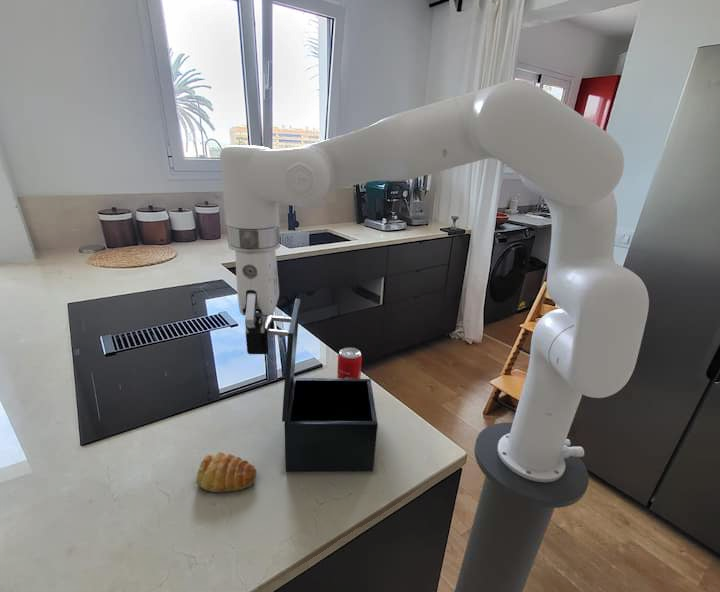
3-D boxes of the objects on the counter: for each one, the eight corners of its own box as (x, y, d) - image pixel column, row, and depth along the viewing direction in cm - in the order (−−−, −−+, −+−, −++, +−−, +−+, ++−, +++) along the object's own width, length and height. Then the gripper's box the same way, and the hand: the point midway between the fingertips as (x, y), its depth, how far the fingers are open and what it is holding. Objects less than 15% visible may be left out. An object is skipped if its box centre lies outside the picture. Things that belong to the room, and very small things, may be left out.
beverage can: (363, 400, 89) (366, 355, 84) (343, 407, 87) (345, 361, 82) (351, 389, 93) (354, 344, 88) (332, 395, 91) (334, 350, 86)
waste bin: (367, 421, 83) (370, 378, 78) (373, 471, 71) (377, 424, 66) (292, 421, 82) (291, 377, 77) (285, 472, 69) (284, 423, 65)
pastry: (261, 466, 70) (260, 450, 68) (249, 498, 64) (247, 481, 62) (209, 461, 70) (207, 445, 69) (193, 492, 64) (190, 476, 63)
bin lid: (300, 298, 70) (265, 295, 69) (293, 333, 58) (250, 329, 57) (293, 376, 77) (261, 373, 76) (286, 421, 65) (248, 419, 64)
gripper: (271, 253, 51) (277, 371, 58) (285, 225, 66) (289, 321, 74) (212, 251, 50) (226, 371, 58) (240, 223, 66) (248, 320, 73)
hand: (261, 342), depth 66 cm, fingers closed on bin lid, 6 cm apart
